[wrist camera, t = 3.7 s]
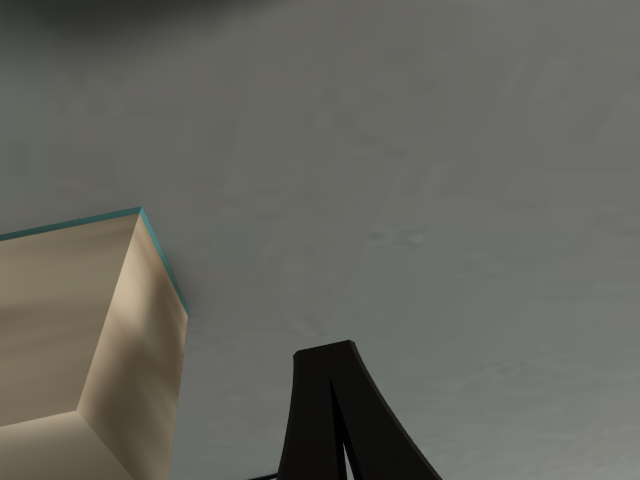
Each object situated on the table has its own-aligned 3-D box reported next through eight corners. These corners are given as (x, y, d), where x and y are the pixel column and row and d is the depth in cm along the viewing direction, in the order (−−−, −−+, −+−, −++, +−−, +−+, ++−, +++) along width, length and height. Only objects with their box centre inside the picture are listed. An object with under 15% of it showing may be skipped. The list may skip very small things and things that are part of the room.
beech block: (188, 309, 16) (164, 515, 11) (64, 335, 16) (-26, 559, 10) (141, 206, 14) (76, 410, 8) (-8, 236, 13) (-182, 467, 8)
